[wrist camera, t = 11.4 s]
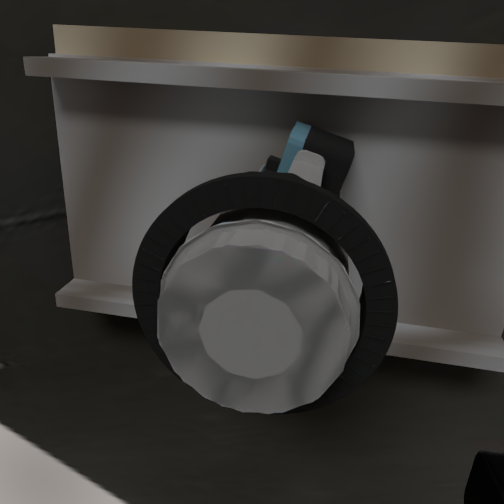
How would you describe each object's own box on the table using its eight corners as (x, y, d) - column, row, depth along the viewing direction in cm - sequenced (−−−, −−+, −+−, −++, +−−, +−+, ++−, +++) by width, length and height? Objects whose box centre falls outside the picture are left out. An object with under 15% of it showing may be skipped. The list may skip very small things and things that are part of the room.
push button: (325, 300, 19) (310, 525, 10) (203, 254, 19) (80, 435, 10) (397, 145, 16) (464, 262, 7) (253, 93, 16) (142, 144, 7)
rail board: (567, 48, 16) (613, 47, 13) (480, 351, 20) (500, 396, 18) (67, 26, 18) (18, 20, 16) (94, 296, 23) (59, 328, 20)
